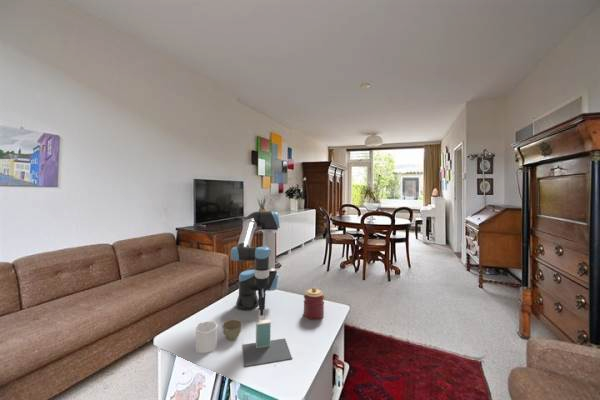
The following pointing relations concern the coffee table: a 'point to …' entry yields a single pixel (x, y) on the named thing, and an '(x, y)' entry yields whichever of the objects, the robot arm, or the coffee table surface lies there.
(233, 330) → the flower pot
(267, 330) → the slab
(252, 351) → the mat
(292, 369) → the coffee table surface
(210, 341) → the mug
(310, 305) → the canister
